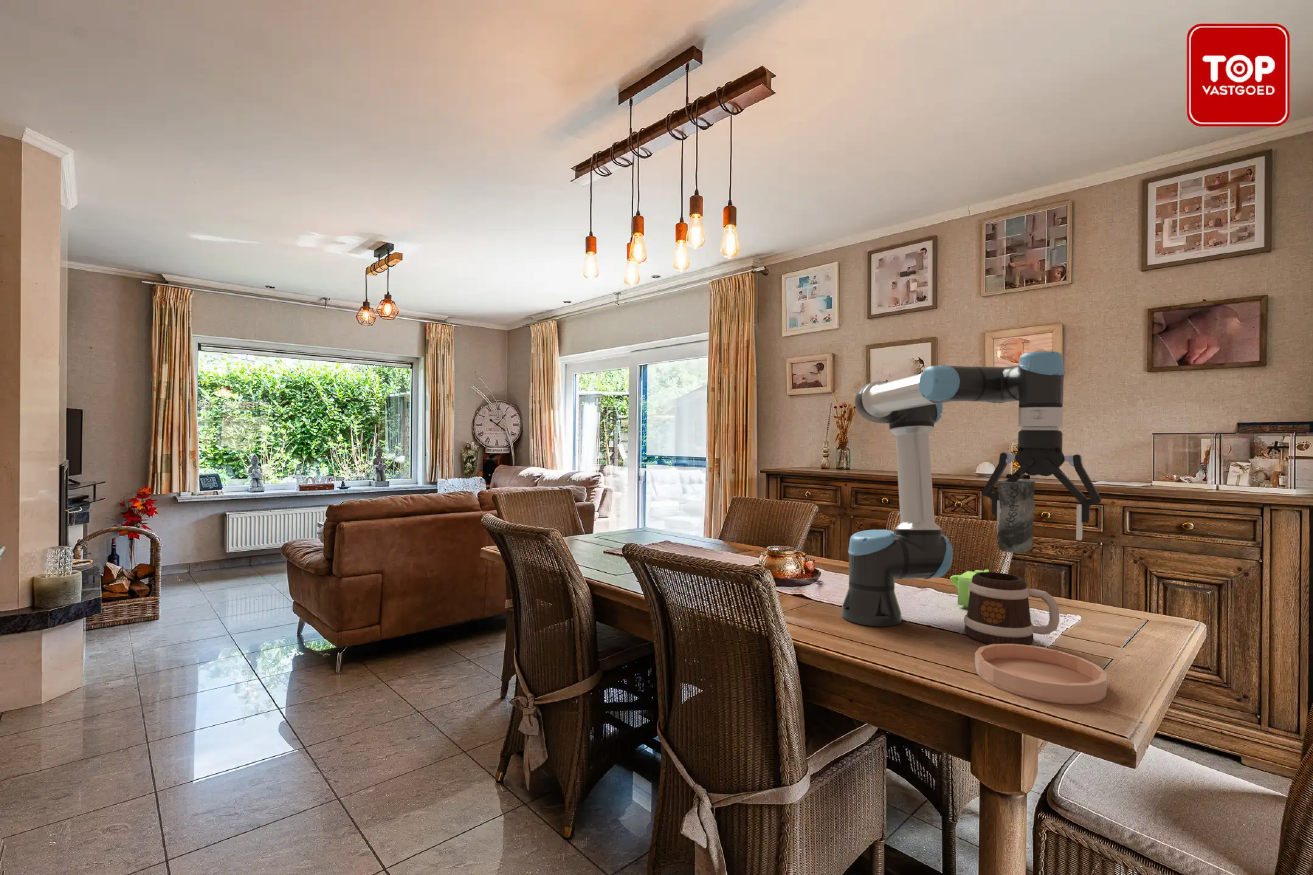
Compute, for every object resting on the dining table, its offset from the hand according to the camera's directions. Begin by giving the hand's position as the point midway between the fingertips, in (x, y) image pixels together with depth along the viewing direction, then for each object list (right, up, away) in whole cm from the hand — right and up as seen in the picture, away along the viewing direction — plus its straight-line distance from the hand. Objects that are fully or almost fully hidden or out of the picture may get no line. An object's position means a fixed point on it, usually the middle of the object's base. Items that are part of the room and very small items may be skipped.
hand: (1038, 535), depth 121 cm
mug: (+8, -29, +24) cm, 39 cm away
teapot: (+16, -29, +52) cm, 61 cm away
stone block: (-5, -4, +4) cm, 7 cm away
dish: (0, -29, 0) cm, 29 cm away
